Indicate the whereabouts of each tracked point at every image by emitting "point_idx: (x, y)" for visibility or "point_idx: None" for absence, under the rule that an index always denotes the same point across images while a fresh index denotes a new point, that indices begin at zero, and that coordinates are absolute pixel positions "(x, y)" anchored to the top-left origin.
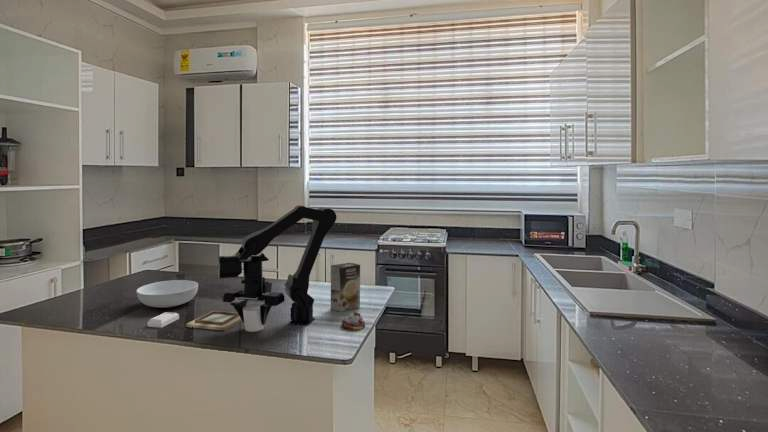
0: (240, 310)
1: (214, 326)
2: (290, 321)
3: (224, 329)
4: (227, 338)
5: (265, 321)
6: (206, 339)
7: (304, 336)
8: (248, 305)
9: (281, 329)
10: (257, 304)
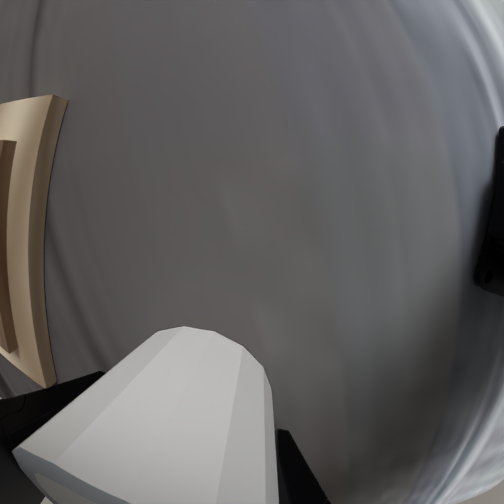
0: None
1: (8, 359)
2: (484, 271)
3: (52, 384)
4: None
5: (295, 451)
6: None
7: (481, 439)
8: (29, 473)
9: (409, 397)
10: (97, 501)
